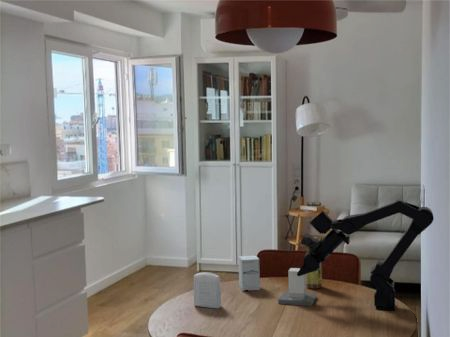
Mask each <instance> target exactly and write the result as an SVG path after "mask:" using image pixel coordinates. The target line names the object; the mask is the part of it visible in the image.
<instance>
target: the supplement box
mask: <svg viewBox="0 0 450 337" xmlns="http://www.w3.org/2000/svg"><path fill="white" fill-rule="evenodd" d="M260 280H261V278H260V258H259V257H258V256H257V255H239V256H238V282H239V283H238V285H239V288H240V290H241V292H244V291H245V290H248V291H260V290H261V281H260Z"/></svg>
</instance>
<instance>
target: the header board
mask: <svg viewBox="0 0 450 337" xmlns="http://www.w3.org/2000/svg"><path fill="white" fill-rule="evenodd" d="M316 299H317V293H311V292H306V296H305V298H304V299H298V298H289V291H284V292H283V293H282V294H281V295H280V297H279V298H278V304H280V305H293V306H306V307H312V306H313V304H314V303H315V301H316Z"/></svg>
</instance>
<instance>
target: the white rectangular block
mask: <svg viewBox="0 0 450 337" xmlns="http://www.w3.org/2000/svg"><path fill="white" fill-rule="evenodd" d="M300 269H301V267H300V268H299V267H290V268H289V269H288V272H287V273H288V276H287V277H288V292H289V298H298V299H304V298H305V296H306V293H307V286H306V274H304V275H302V276H298V275H297V273H298V271H299V270H300Z"/></svg>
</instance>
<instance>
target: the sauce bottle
mask: <svg viewBox="0 0 450 337" xmlns="http://www.w3.org/2000/svg"><path fill="white" fill-rule="evenodd" d="M313 237H314V238H316V239H317V240H319V239H318V238H319V237H316V236H313ZM310 250H311V248H309V247H307V251H306V253H305V256H306V255H307V254H308V253H310ZM322 271H323V270H322V265H321V266H320V268H319V269H318V270H317V271H314V272H310V273H307V274H306V288H308V289H311V290H312V289H314V290H315V289H321V287H322V286H323V285H322V284H323V279H322V277H323V274H322Z"/></svg>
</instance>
